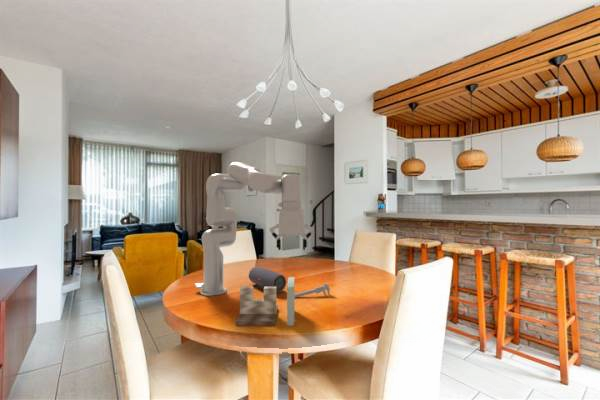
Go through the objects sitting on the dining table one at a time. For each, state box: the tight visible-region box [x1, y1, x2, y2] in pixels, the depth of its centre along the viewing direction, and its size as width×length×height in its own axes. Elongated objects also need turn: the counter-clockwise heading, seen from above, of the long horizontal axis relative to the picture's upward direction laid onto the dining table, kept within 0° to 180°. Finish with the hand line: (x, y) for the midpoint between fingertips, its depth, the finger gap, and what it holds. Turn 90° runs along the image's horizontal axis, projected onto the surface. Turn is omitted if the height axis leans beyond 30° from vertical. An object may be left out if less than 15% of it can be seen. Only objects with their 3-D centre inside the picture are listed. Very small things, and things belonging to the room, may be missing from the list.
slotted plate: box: [286, 276, 296, 327], centre depth 110 cm, size 14×2×14 cm, turn 0°
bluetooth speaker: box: [248, 266, 287, 293], centre depth 147 cm, size 23×9×10 cm, turn 42°
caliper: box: [295, 282, 331, 299], centre depth 135 cm, size 20×1×6 cm, turn 103°
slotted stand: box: [235, 285, 278, 326], centre depth 111 cm, size 14×16×12 cm
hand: (291, 249), depth 110 cm, fingers open, 9 cm apart
